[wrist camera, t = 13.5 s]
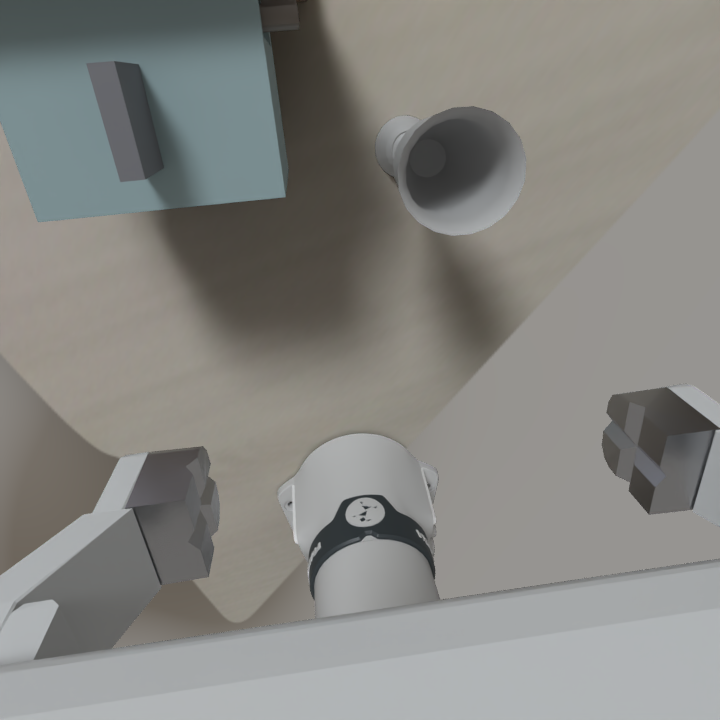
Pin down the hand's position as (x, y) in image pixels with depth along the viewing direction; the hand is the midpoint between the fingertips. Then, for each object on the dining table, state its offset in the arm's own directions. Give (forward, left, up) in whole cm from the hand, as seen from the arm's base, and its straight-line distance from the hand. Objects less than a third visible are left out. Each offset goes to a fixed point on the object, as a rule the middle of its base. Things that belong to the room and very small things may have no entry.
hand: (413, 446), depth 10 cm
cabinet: (+7, +10, -34) cm, 36 cm away
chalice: (+2, -7, -39) cm, 40 cm away
